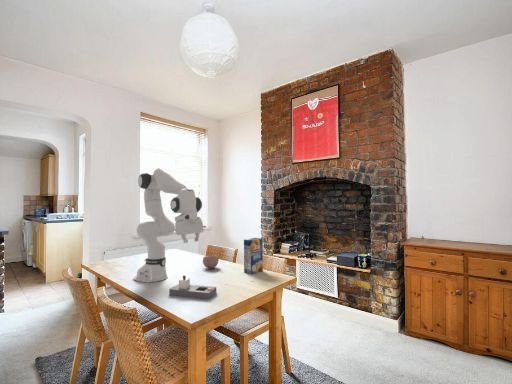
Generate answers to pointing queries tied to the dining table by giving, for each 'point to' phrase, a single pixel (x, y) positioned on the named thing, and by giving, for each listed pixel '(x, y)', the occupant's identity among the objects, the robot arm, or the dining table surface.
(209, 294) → the power strip
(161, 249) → the robot arm
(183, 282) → the plug
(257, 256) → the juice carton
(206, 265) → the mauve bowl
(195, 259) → the dining table surface
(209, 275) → the dining table surface
